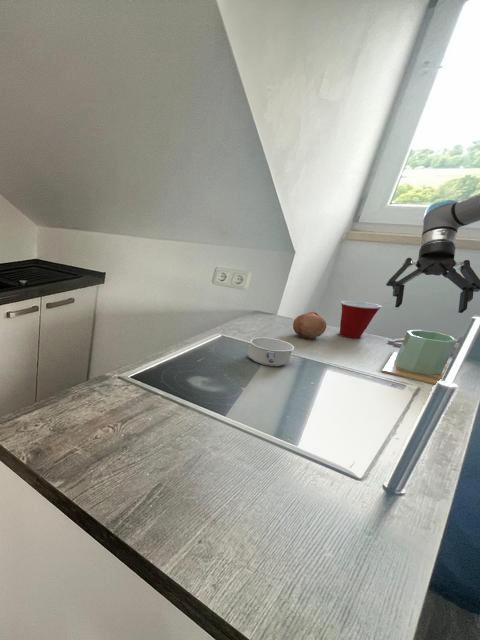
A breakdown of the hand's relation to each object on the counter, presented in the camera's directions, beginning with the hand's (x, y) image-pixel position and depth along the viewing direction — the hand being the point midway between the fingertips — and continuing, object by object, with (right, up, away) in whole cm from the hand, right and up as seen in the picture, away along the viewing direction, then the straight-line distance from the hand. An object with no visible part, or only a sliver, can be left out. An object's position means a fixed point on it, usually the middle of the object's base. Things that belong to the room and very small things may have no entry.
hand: (429, 308), depth 116 cm
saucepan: (-48, -17, +2) cm, 51 cm away
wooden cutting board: (-7, -18, -3) cm, 20 cm away
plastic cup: (-4, -7, +23) cm, 24 cm away
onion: (-20, -8, +22) cm, 31 cm away
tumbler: (-10, -15, -9) cm, 20 cm away
